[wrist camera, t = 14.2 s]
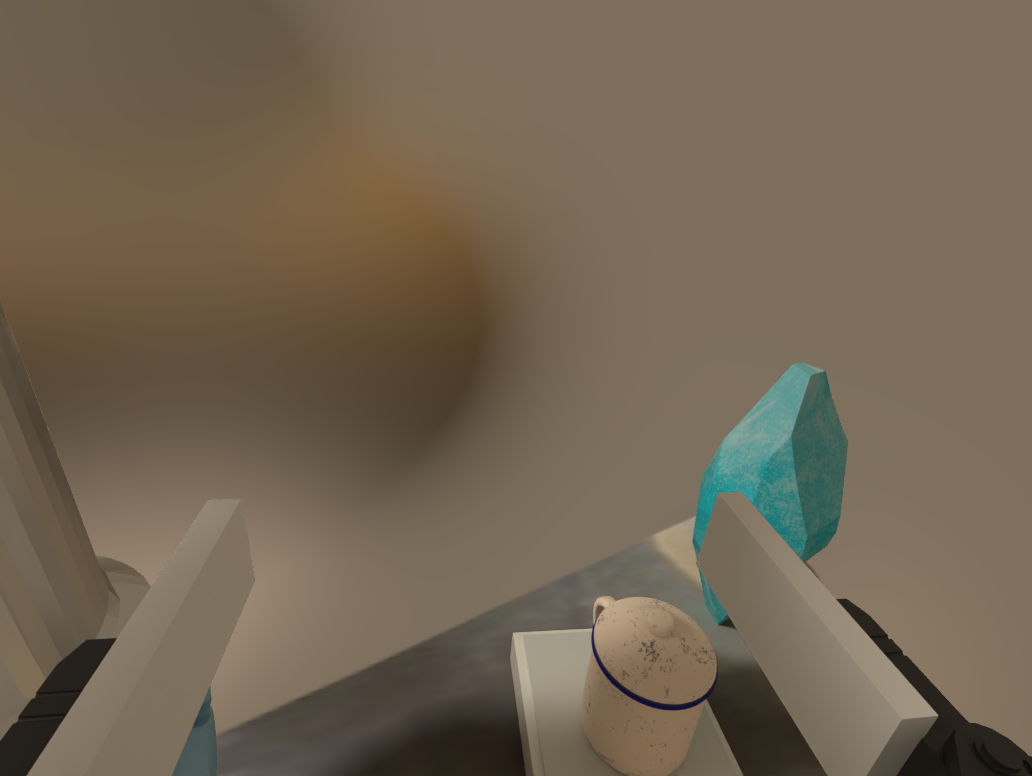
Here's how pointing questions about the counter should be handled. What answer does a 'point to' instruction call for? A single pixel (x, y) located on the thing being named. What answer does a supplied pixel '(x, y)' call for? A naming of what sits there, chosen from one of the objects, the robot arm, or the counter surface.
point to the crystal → (782, 467)
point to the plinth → (557, 712)
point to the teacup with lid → (645, 684)
